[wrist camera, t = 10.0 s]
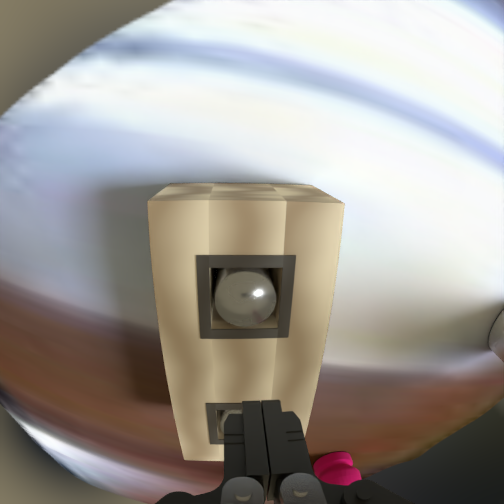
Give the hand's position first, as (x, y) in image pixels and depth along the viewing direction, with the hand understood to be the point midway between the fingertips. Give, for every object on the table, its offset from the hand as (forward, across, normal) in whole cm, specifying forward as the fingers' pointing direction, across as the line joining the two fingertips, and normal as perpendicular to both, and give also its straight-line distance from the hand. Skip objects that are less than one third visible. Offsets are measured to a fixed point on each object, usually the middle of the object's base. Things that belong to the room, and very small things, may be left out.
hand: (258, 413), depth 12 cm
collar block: (+18, 0, +6) cm, 19 cm away
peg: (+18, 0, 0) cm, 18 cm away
